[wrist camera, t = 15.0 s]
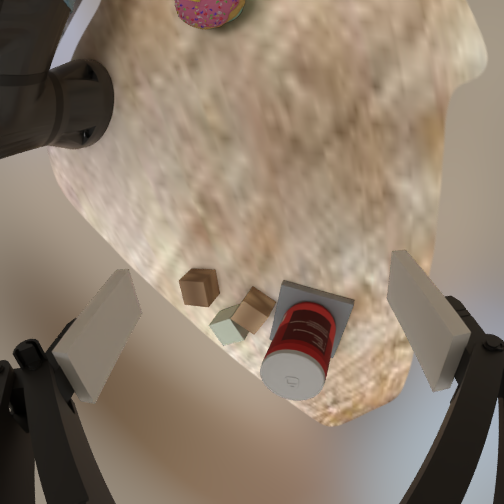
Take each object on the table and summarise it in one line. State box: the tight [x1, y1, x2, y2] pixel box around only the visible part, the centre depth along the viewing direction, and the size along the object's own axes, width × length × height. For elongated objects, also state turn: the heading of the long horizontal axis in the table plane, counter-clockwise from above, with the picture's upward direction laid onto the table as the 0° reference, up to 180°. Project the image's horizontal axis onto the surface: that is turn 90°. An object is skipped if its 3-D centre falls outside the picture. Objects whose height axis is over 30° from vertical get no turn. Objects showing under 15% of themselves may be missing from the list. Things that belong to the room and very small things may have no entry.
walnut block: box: [179, 269, 220, 307], centre depth 47 cm, size 4×4×4 cm
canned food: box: [260, 302, 336, 401], centre depth 39 cm, size 8×8×11 cm
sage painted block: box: [209, 304, 249, 346], centre depth 48 cm, size 4×4×4 cm
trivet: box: [270, 281, 354, 358], centre depth 44 cm, size 10×10×1 cm
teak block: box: [231, 287, 276, 334], centre depth 45 cm, size 4×4×4 cm
